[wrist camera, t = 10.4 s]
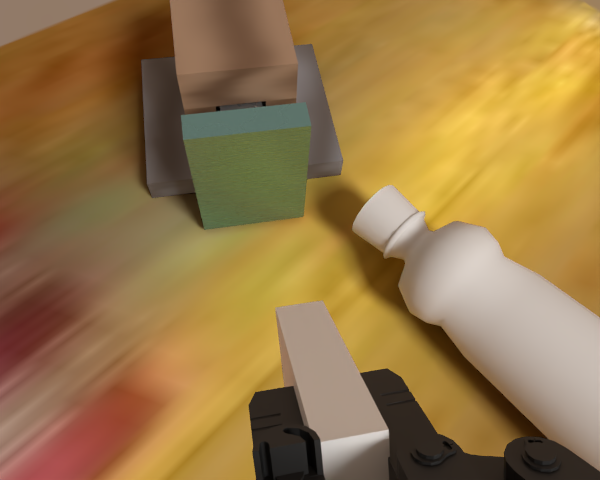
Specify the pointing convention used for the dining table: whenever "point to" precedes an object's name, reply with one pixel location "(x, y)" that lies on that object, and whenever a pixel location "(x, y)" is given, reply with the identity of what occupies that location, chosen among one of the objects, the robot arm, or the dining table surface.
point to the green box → (248, 162)
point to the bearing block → (229, 83)
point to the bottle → (497, 318)
